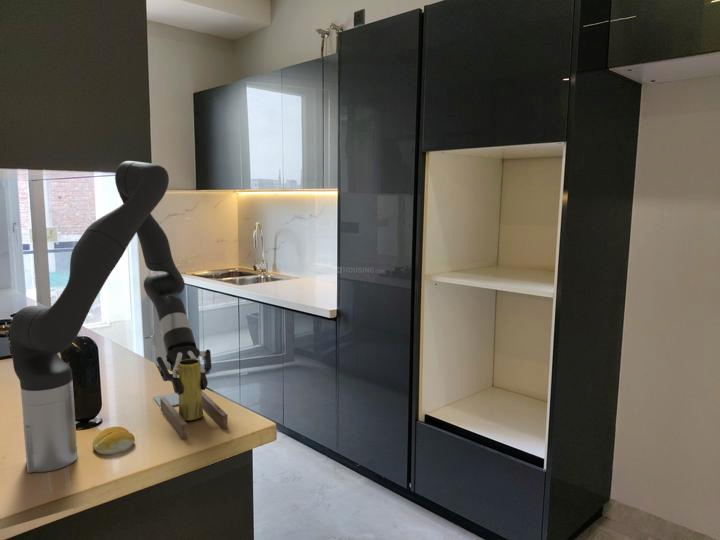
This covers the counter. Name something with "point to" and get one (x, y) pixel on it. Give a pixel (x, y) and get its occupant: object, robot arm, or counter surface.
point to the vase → (190, 389)
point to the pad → (172, 398)
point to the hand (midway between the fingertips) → (192, 390)
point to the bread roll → (113, 440)
